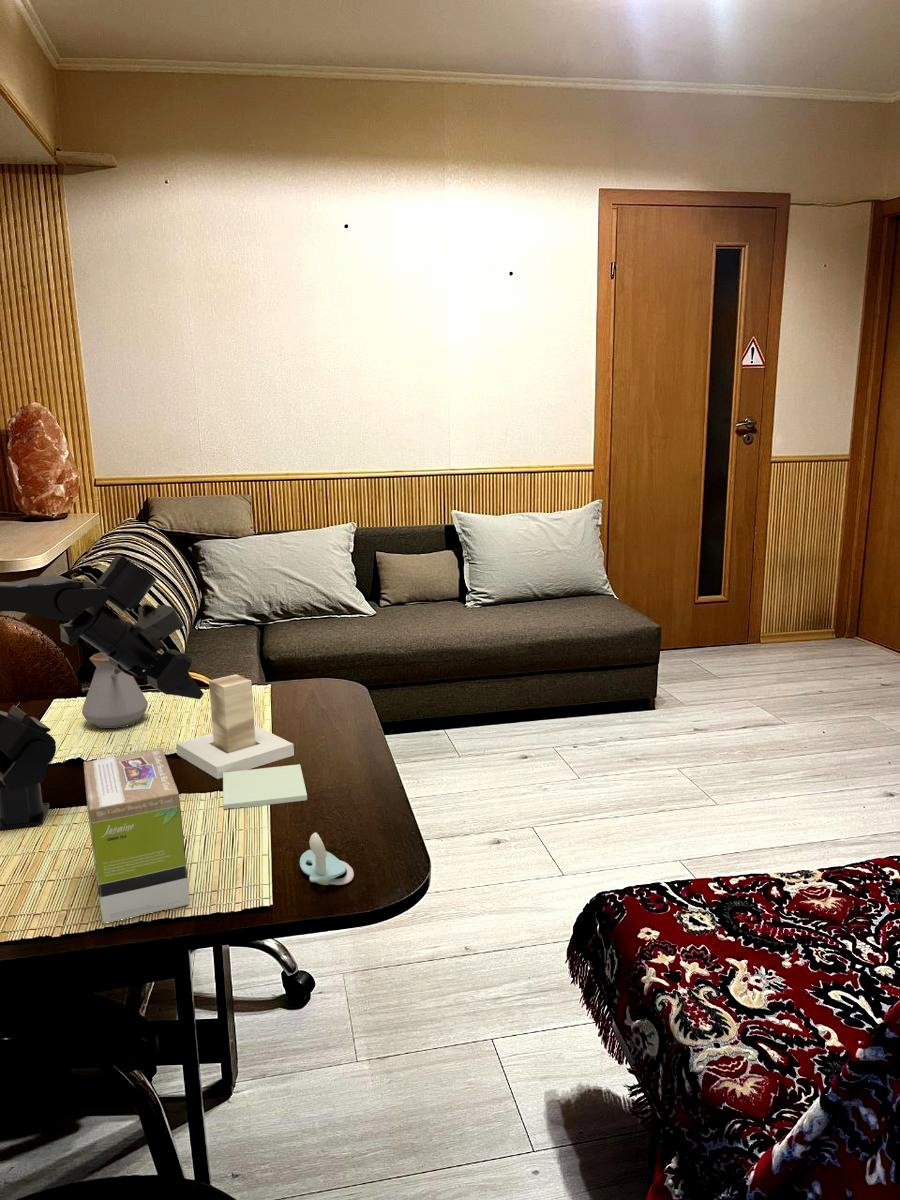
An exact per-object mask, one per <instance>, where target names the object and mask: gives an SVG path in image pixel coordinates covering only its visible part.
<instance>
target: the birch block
mask: <svg viewBox="0 0 900 1200" xmlns="http://www.w3.org/2000/svg"><path fill="white" fill-rule="evenodd" d="M252 685H253V684H252V680H251V679H248V678H246V677H244V676H242V675H239V674H231V675H228V676H222V677H219V678H214V679H211V680H208V687H209V697H210V698H209V699H210V700H209V701H210V711H211V712H210V713H211V724H212V733H213V740H214V747H216V748H218V749H219V750H221V751H223V752H225V753H227V754H228V753H231V752H235V751H238V750H241V749H245V748H248V747H251V746H255V745H256V743H255V728H254V725H255V716H254V715H255V714H254V713H255V712H254V699H253V686H252Z"/></svg>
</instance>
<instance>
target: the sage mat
mask: <svg viewBox="0 0 900 1200" xmlns="http://www.w3.org/2000/svg"><path fill="white" fill-rule="evenodd" d="M222 782H223V783H222V792H223V794H222V795H223V796H222V797H223V799H222V800H223V801H222V803H223V810H224V809H226V808H236V809H241V808H240V807H244V808H252V806H253V807H259V806H260V807H261V806H267V805H268V806H269V805H277V804H286V803H293V802H302V801H308V794H307V789H306V785H305V780H304V775H303V771H302V767H301V764H300V763H299V764H291V765H282V766H273V767H272V766H271V767H263V768H262V767H261V768H252V769H249V770H243V771H234V772H224V773H223V778H222Z"/></svg>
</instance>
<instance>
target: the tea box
mask: <svg viewBox="0 0 900 1200" xmlns="http://www.w3.org/2000/svg"><path fill="white" fill-rule="evenodd" d="M83 771H84V772H83V774H84V786H85V795H86V796H85V797H86V805H87V806H86V807H87V814H88V822H89V823H88V825H89V831H90V839H91V848H92V856H93V862H94V872H95V879H96V886H97V893H98V898H99V904H100V905H99V906H100V912H101V919H102V920H101V921H102V923H103V924H105V923H106V922H112V921H117V920H121V919H126V918H130V917H133V916H136V915H143V914H147V913H151V912H156V911H161V910H165V911H169V910H168V909H170V910H172V909H176V908H177V909H178V908H181V907H184V906H188V905H189V904H190V903H191V902H190V900H191V899H190V890H189V887H190V886H189V878H188V870H187V860H186V859H187V858H186V848H185V841H184V839H185V838H184V829H183V819H182V818H183V817H182V808H181V807H182V806H181V801H180V795H179V794H180V793H179V790H178V787H177V784H176V782H175V780H174V777H173V775H172V771H171V768H170V766H169V763H168V760H167V758H166V755H165V753H164V750H163V748H157V749H152V750H146V751H141V752H134V753H129V754H125V755H124V754H123V755H117V756H112V757H107V758H101V759H96V760H94V759H93V760H89V761H86V760H85V761H83ZM161 912H162V911H161Z"/></svg>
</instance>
